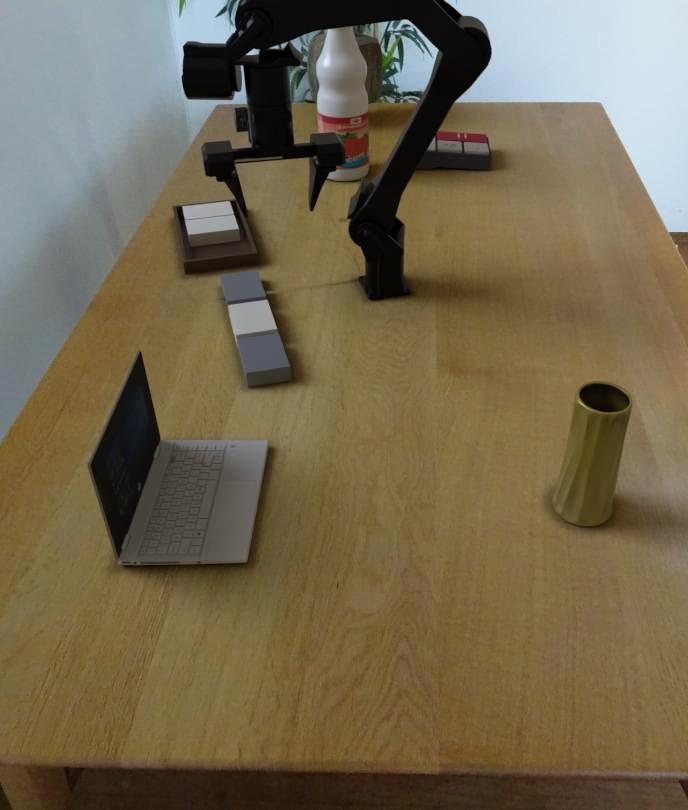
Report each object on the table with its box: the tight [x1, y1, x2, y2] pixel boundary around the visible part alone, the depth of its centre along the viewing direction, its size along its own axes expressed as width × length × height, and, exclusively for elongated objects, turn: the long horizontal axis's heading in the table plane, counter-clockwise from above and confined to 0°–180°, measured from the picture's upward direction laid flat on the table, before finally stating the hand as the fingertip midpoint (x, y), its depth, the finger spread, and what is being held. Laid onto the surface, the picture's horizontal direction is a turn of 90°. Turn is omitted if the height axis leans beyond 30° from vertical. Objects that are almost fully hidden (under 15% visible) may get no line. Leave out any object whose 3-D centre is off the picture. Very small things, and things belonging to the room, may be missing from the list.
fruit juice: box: [316, 26, 370, 182], centre depth 147 cm, size 9×9×28 cm
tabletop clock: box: [306, 26, 384, 105], centre depth 172 cm, size 14×9×25 cm, turn 130°
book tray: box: [172, 198, 260, 275], centre depth 131 cm, size 21×11×2 cm, turn 17°
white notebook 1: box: [182, 201, 234, 229], centre depth 136 cm, size 8×6×2 cm
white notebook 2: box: [186, 215, 240, 247], centre depth 131 cm, size 8×6×2 cm
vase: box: [552, 380, 634, 527], centre depth 79 cm, size 6×6×14 cm
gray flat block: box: [236, 332, 292, 388], centre depth 103 cm, size 8×6×2 cm
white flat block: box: [227, 299, 279, 349], centre depth 110 cm, size 8×6×2 cm
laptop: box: [87, 349, 270, 566], centre depth 80 cm, size 18×12×13 cm
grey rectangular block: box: [219, 269, 268, 314], centre depth 117 cm, size 8×6×2 cm
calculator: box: [416, 130, 492, 171], centre depth 160 cm, size 11×4×15 cm
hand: (278, 213), depth 113 cm, fingers open, 9 cm apart
